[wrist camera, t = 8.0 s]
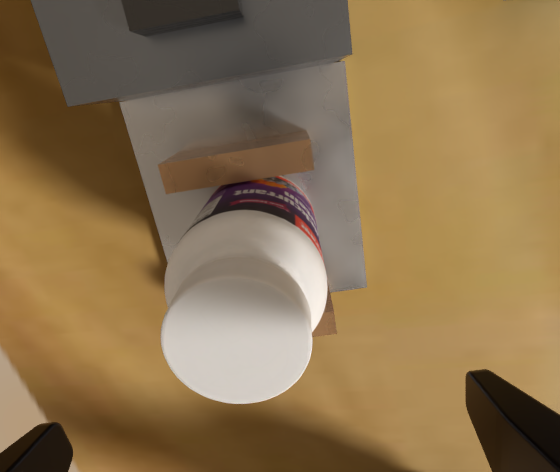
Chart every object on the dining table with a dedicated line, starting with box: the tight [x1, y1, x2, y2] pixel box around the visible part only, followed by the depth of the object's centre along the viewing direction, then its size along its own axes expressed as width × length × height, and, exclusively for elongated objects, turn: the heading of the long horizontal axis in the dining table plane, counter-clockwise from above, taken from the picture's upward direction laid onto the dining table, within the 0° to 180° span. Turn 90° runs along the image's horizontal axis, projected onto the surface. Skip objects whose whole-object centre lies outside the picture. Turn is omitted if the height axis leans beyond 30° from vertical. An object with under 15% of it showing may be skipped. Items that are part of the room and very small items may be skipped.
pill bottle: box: [161, 176, 328, 404], centre depth 15 cm, size 5×5×10 cm
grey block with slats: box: [31, 0, 367, 337], centre depth 15 cm, size 16×10×7 cm, turn 10°
